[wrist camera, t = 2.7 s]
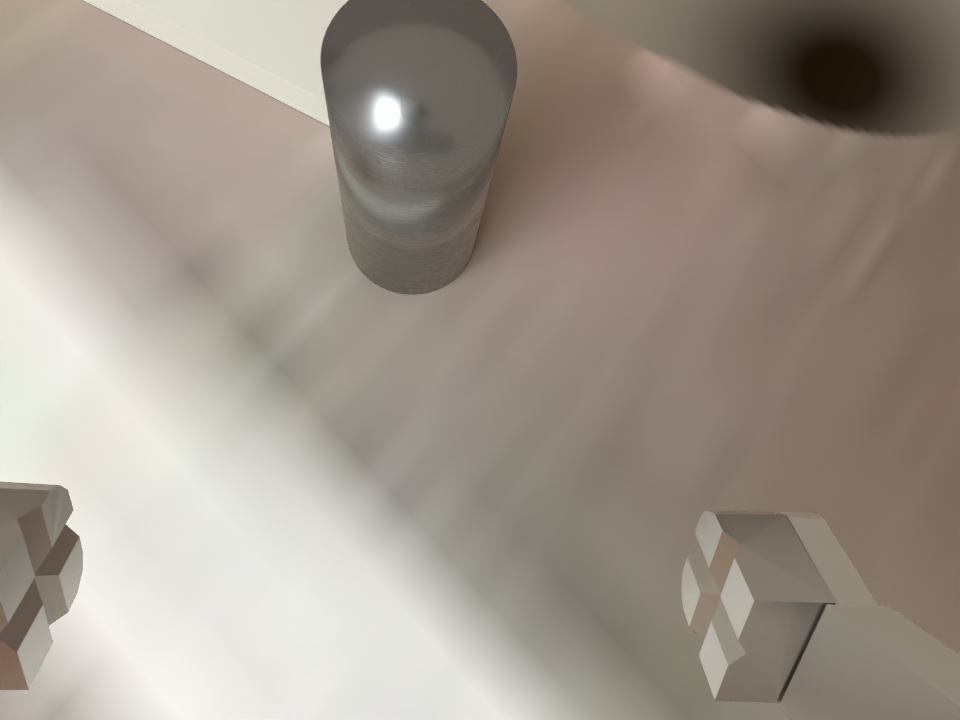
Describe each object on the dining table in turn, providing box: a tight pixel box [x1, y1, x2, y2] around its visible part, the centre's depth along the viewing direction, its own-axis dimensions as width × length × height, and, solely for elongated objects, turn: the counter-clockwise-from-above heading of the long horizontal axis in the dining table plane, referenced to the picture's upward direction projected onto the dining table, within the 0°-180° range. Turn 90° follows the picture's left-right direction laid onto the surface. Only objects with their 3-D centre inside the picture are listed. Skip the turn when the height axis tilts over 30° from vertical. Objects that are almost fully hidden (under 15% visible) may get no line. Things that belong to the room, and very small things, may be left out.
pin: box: [320, 0, 517, 295], centre depth 20 cm, size 4×4×9 cm
